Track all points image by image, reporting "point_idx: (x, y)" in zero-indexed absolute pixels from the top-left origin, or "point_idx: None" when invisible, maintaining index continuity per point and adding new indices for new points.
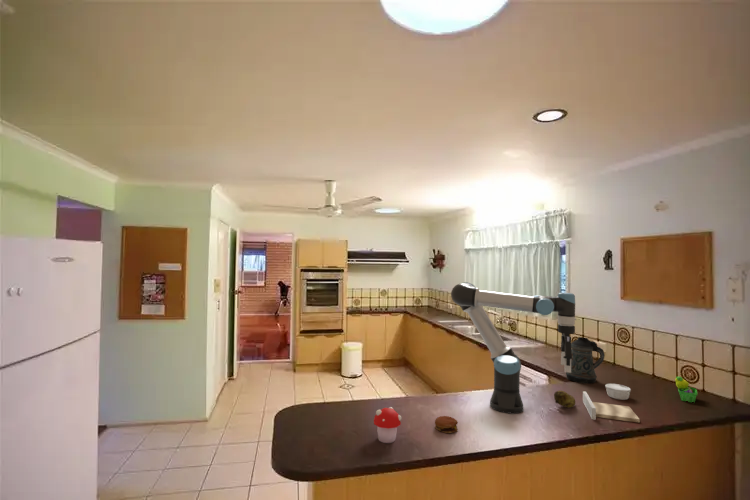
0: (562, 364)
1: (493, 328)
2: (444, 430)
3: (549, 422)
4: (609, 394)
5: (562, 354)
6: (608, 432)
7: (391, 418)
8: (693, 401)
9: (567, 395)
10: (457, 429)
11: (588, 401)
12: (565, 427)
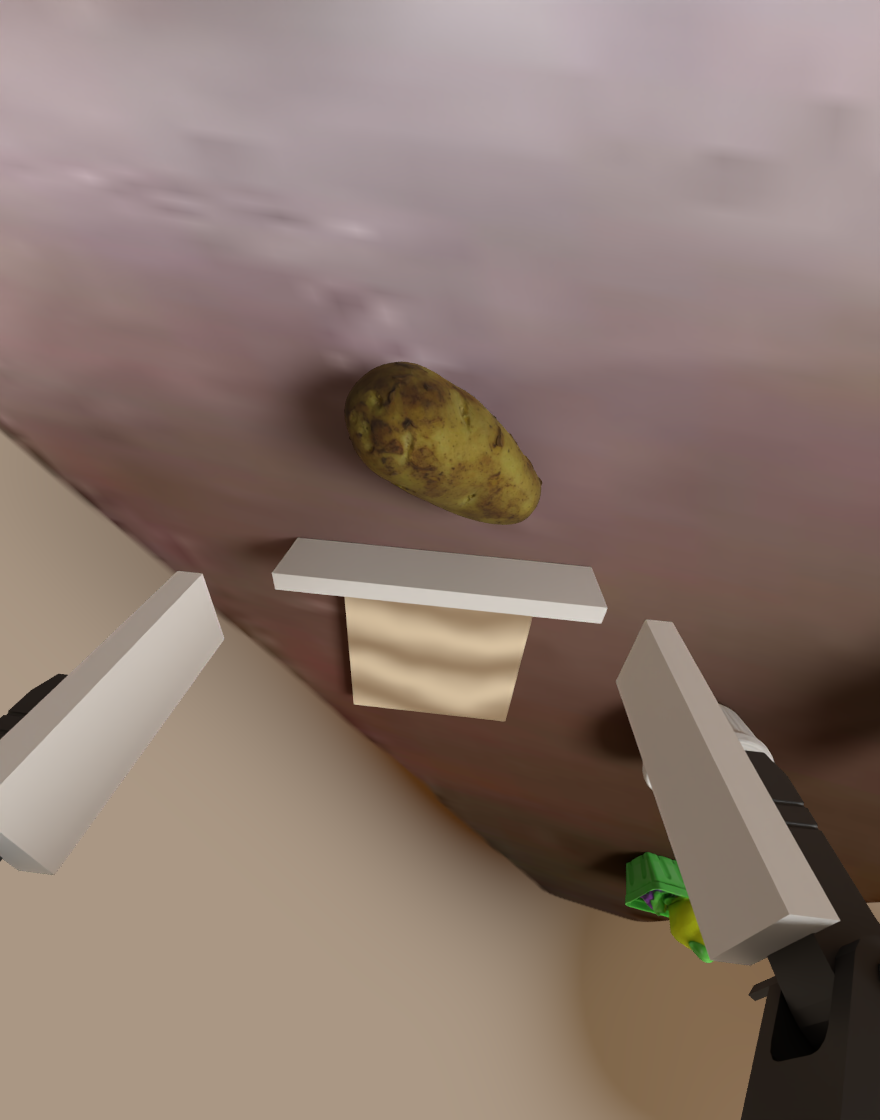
0: (640, 639)
1: None
2: None
3: (68, 247)
4: None
5: (731, 834)
6: (164, 560)
7: None
8: (627, 868)
9: (385, 477)
10: None
11: (390, 585)
12: (65, 357)
